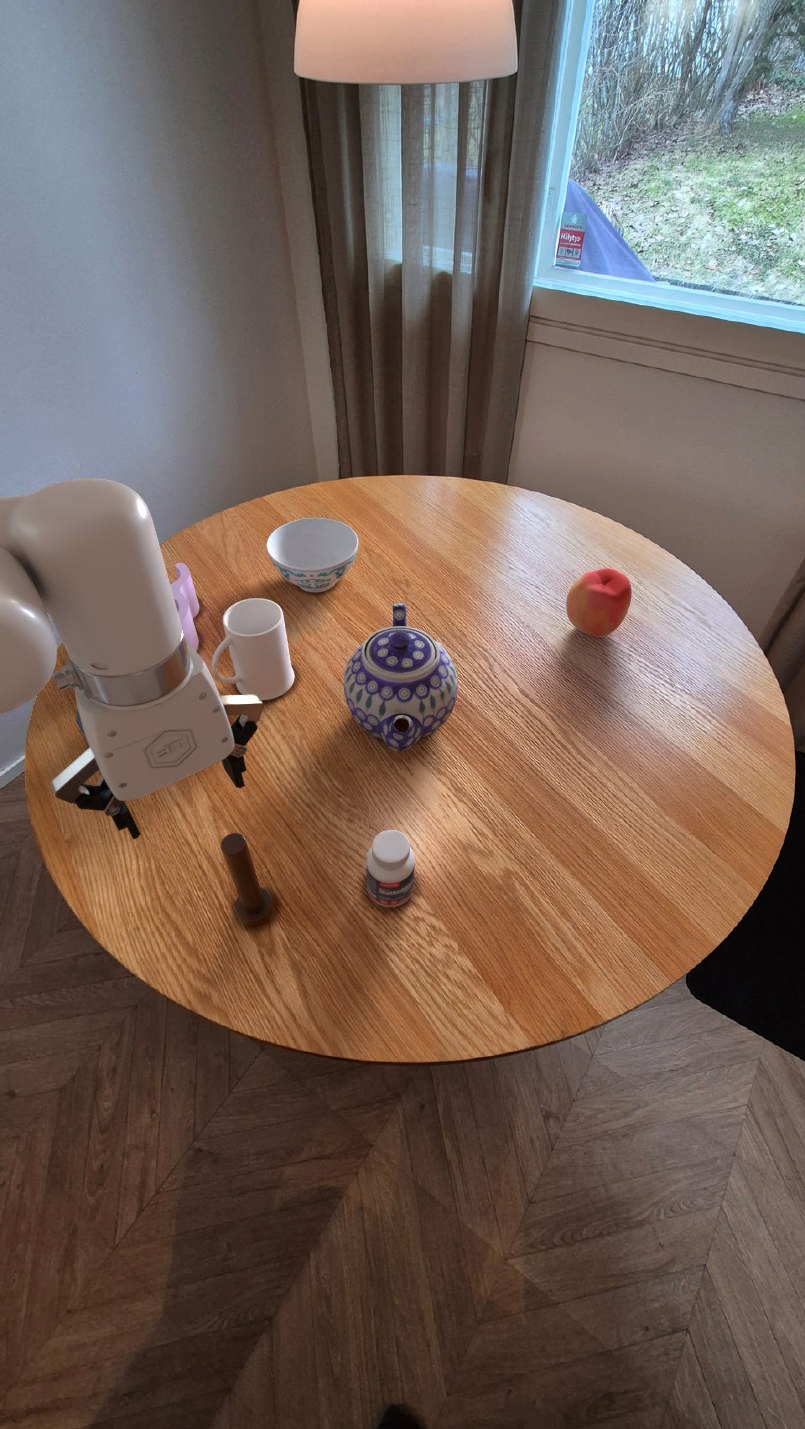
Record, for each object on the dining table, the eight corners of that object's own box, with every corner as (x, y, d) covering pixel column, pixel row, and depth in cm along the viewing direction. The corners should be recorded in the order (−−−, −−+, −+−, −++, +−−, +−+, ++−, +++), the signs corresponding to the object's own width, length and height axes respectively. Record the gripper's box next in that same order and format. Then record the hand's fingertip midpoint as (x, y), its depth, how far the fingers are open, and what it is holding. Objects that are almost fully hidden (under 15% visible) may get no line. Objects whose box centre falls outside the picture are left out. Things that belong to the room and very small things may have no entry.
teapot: (353, 653, 102) (348, 573, 91) (452, 656, 102) (460, 575, 90) (337, 786, 85) (329, 706, 74) (457, 790, 85) (466, 710, 74)
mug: (235, 720, 92) (218, 657, 83) (205, 686, 97) (186, 623, 88) (305, 682, 97) (297, 619, 88) (274, 652, 102) (263, 589, 93)
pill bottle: (376, 914, 73) (375, 875, 67) (360, 875, 76) (357, 834, 70) (420, 898, 74) (423, 858, 68) (403, 860, 78) (404, 818, 71)
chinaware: (294, 549, 120) (289, 511, 115) (372, 564, 117) (371, 526, 112) (257, 597, 111) (250, 558, 105) (340, 616, 108) (337, 577, 102)
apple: (592, 603, 111) (606, 552, 103) (634, 635, 105) (652, 584, 98) (548, 623, 107) (560, 572, 100) (590, 657, 102) (605, 606, 94)
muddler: (248, 934, 71) (224, 869, 61) (230, 906, 74) (204, 840, 63) (280, 912, 73) (262, 846, 63) (262, 886, 75) (241, 818, 65)
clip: (142, 595, 111) (130, 560, 106) (216, 598, 111) (207, 563, 105) (101, 679, 97) (84, 644, 92) (184, 682, 97) (173, 647, 92)
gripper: (17, 744, 41) (100, 881, 54) (268, 645, 48) (290, 786, 61) (-11, 674, 45) (73, 816, 58) (225, 592, 52) (254, 735, 65)
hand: (184, 801), depth 59 cm, fingers open, 9 cm apart
